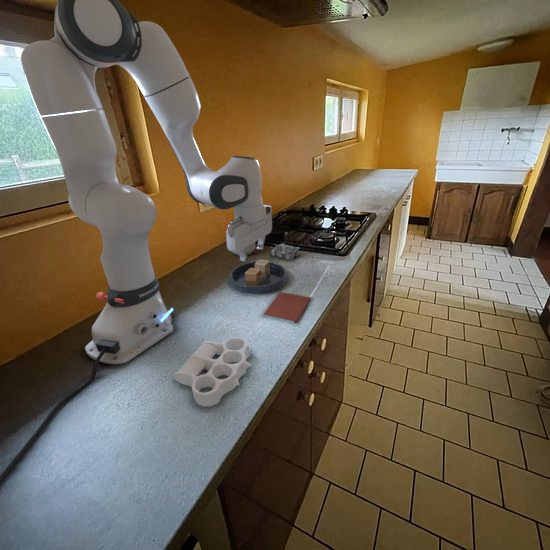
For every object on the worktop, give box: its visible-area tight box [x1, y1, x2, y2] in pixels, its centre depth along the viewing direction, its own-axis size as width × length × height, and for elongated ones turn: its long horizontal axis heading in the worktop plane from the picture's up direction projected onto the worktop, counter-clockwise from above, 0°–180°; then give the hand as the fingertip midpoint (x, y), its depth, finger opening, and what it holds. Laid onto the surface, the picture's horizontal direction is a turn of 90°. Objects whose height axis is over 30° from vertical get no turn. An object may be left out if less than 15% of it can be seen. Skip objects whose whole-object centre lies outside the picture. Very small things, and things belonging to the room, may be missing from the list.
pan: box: [229, 260, 288, 295], centre depth 105 cm, size 19×19×3 cm
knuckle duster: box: [173, 337, 253, 408], centre depth 67 cm, size 3×18×15 cm
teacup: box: [232, 242, 256, 256], centre depth 127 cm, size 14×11×8 cm
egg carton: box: [269, 243, 300, 260], centre depth 123 cm, size 11×8×4 cm
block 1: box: [245, 268, 262, 286], centre depth 101 cm, size 4×4×5 cm
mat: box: [263, 291, 311, 324], centre depth 90 cm, size 13×10×1 cm
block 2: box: [254, 259, 271, 278], centre depth 107 cm, size 4×4×5 cm
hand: (252, 254), depth 97 cm, fingers open, 8 cm apart
